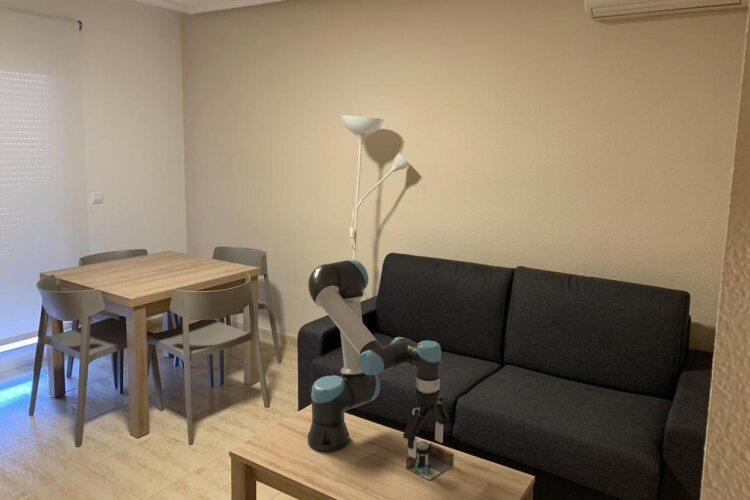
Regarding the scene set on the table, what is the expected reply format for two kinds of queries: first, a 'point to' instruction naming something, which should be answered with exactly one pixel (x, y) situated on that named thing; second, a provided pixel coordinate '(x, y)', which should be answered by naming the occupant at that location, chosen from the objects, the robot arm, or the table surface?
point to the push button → (423, 458)
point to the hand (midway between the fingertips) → (425, 448)
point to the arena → (433, 462)
